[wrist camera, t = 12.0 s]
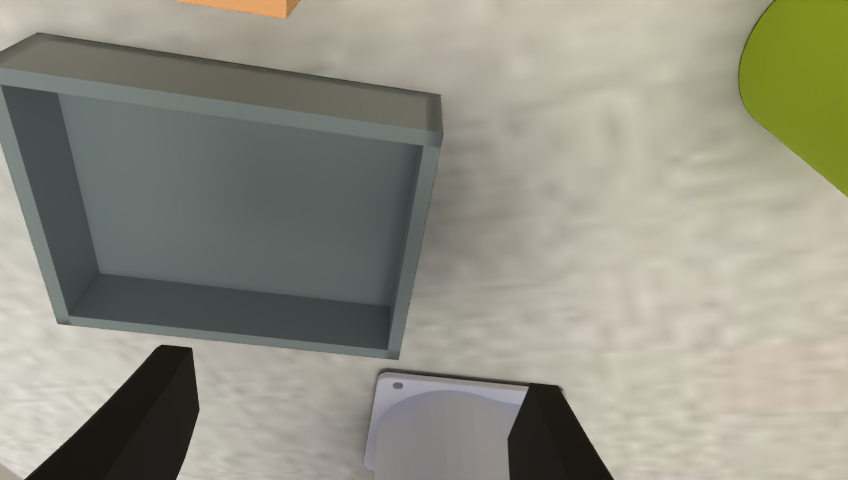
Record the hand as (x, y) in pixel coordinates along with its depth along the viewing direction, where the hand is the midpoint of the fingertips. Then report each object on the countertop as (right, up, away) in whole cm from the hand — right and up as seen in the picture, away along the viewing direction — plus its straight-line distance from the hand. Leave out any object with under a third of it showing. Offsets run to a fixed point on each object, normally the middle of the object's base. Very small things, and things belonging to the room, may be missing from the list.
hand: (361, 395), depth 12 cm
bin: (-5, +5, +9) cm, 12 cm away
